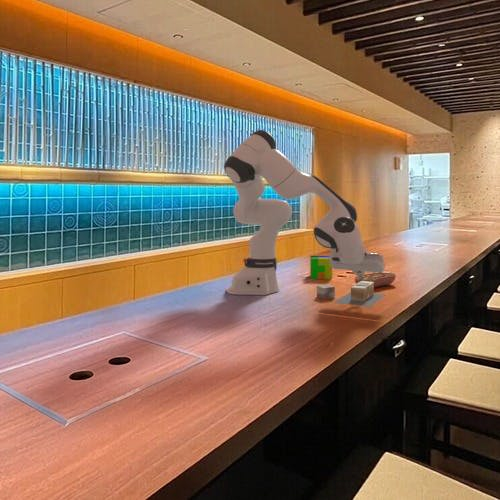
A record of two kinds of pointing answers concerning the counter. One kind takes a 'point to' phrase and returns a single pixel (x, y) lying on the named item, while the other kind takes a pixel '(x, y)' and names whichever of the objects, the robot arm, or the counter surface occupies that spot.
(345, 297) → the slate mat
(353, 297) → the maple block
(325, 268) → the puzzle toy
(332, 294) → the grey block
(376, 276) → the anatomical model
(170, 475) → the counter surface
